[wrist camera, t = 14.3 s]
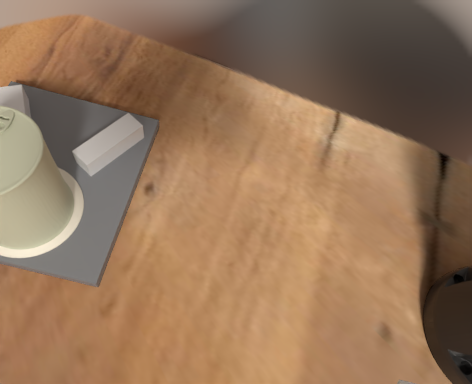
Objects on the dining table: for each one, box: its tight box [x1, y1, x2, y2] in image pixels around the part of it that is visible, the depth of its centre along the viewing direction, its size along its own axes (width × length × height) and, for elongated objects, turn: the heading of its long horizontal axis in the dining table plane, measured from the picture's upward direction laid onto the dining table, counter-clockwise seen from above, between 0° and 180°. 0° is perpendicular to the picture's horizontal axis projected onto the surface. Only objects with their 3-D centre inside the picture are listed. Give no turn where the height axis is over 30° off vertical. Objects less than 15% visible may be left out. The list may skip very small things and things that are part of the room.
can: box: [0, 106, 74, 250], centre depth 35 cm, size 9×9×12 cm
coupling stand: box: [0, 81, 159, 287], centre depth 43 cm, size 19×22×4 cm
